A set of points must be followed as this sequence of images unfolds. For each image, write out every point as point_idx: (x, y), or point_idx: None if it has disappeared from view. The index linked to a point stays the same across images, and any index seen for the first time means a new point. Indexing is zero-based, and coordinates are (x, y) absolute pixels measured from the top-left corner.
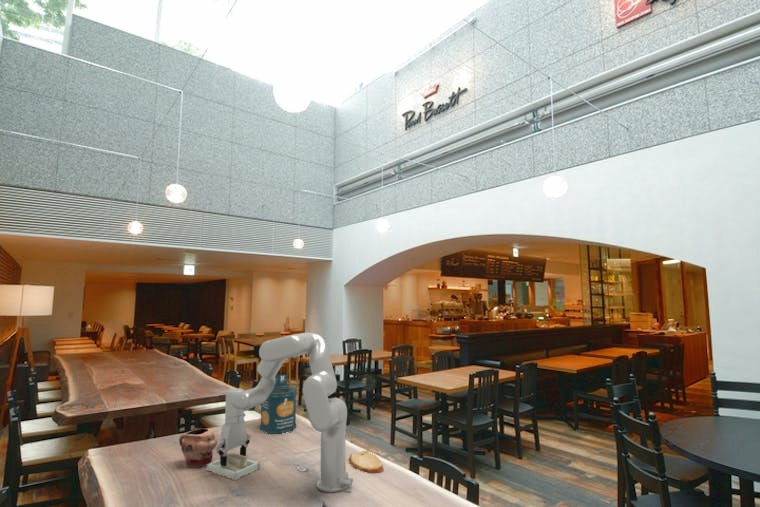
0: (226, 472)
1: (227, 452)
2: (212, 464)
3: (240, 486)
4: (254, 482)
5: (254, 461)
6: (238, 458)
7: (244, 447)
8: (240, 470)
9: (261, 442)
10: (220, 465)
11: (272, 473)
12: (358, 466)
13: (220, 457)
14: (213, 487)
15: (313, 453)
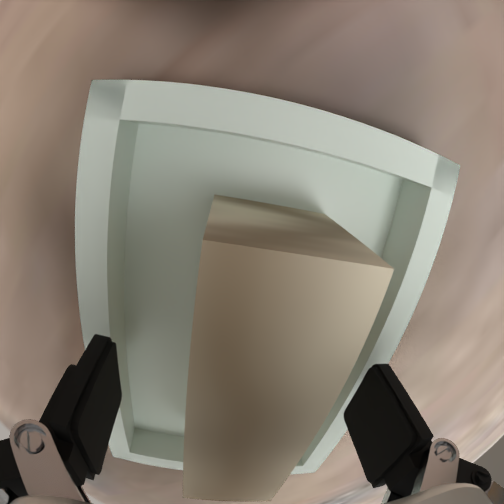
0: None
1: (351, 283)
2: (112, 156)
3: (104, 459)
4: (164, 481)
5: (328, 450)
6: (206, 487)
7: (391, 482)
8: (162, 463)
9: None
10: (214, 198)
11: None
12: None
13: (44, 414)
14: (13, 372)
15: (459, 446)
